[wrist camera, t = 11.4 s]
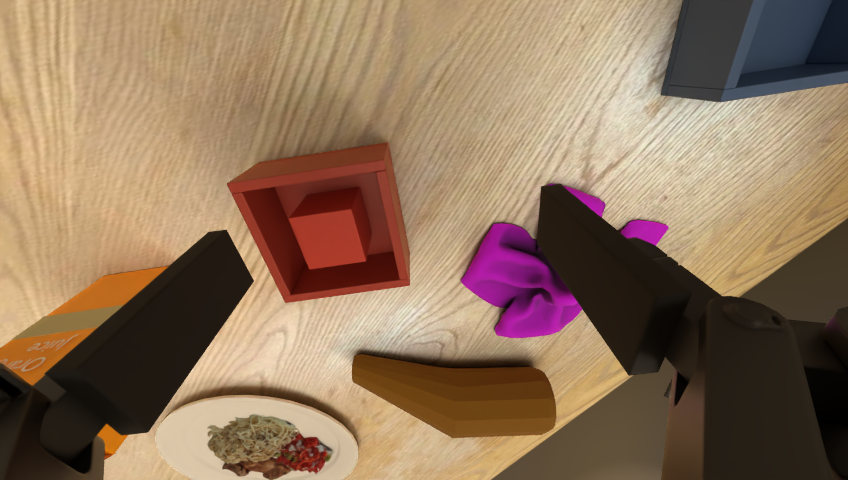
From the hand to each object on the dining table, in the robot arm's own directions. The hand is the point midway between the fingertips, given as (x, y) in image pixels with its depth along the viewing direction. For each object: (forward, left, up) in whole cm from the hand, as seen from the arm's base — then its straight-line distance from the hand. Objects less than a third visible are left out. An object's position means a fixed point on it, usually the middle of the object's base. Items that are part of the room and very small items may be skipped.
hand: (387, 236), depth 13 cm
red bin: (+5, -7, -16) cm, 18 cm away
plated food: (+43, -30, -16) cm, 55 cm away
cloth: (+15, +15, -16) cm, 27 cm away
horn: (+31, +1, -16) cm, 35 cm away
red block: (+5, -7, -15) cm, 17 cm away
